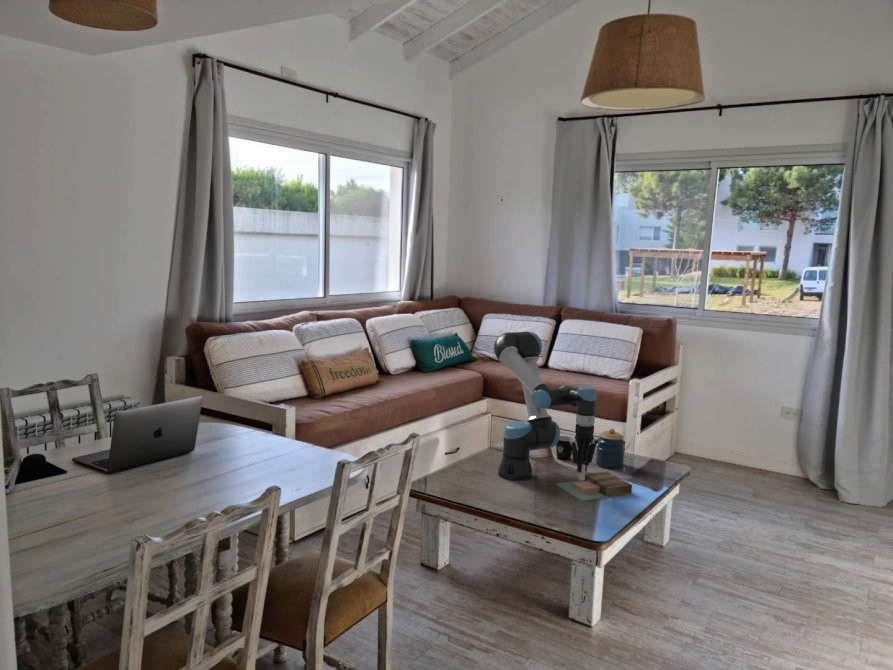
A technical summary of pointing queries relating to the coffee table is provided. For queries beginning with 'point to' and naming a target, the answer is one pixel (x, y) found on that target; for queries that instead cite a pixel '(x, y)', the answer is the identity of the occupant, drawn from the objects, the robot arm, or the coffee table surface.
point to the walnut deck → (609, 484)
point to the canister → (610, 450)
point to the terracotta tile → (586, 487)
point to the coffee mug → (564, 448)
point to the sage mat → (580, 496)
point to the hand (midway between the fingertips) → (581, 479)
